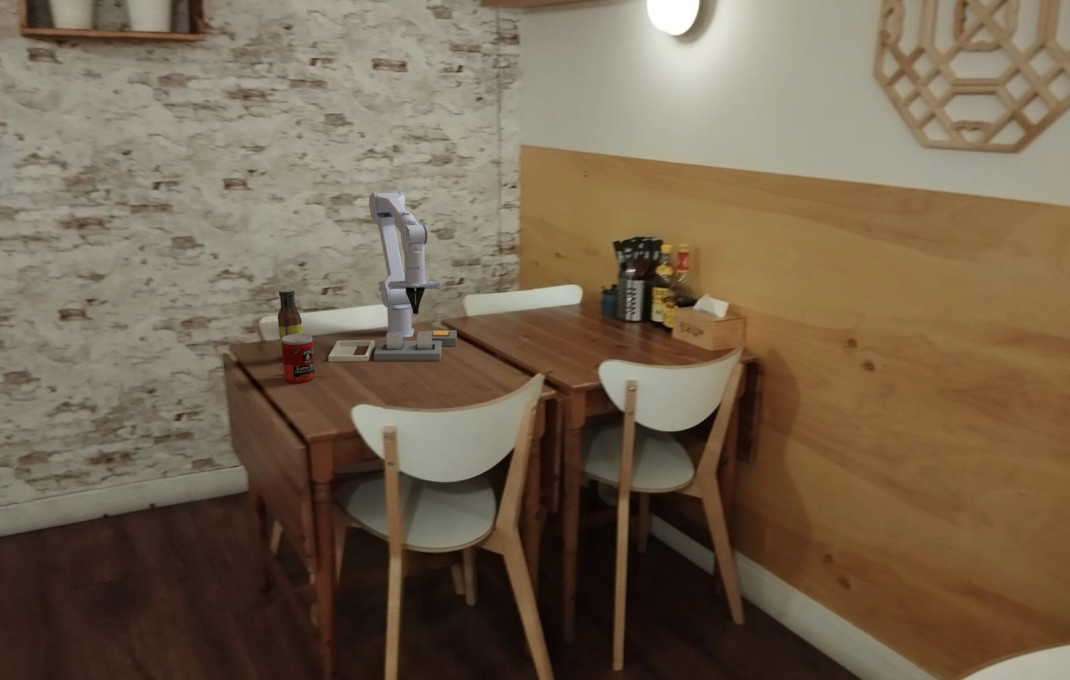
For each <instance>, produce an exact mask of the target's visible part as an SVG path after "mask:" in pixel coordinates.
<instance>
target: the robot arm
mask: <svg viewBox="0 0 1070 680" xmlns="http://www.w3.org/2000/svg"><path fill="white" fill-rule="evenodd" d="M405 198H406V197H405V196H404V194H403V192H401V191H397V192H395V191H394V192H371V194H370V195H369V199H368V208H369V213H370V218H371V220H372V223H374V224H376V225H377V227H378V231H379V235H380V240H381V247H382V253H383V257H384V263H385V268H386V272H387V273H386V274H387V277H386V278H385V279H383V280H382V282H381V283H380V298H381V303H382V305H383V306H384V308H385V307H386V308H387V309H386V310H387V332H386V334H385V337H386V338H387V333H388V332H403V338H405V337H406V338H409V337H411V338H412V337H413V335H414V333H415V328H412V327H413V325H412V314H413V315H419V312H420V311H419V310H420V304H421V301H422V298H423V295H424V294H425V292H426V291H425V290H441V288H442V286H441V284H442V282H441V281H439V280H438V281H436V280H426V271H425V270H426V263H425V262H426V259H425V254H426V253H425V250H426V249H425V245H426V244H427V243H428V230H427V227H426V225H425V224H424V223H419V222H418V221H417V220H416V218H415V216H414V215H413V214H412V212H410V211H408V210H407V211H406V208H405V207H406V199H405ZM396 228H397V230H398V232H399V233H400V241H401V246H402V251H403V253H404V254H403V255H404V258H403V259H404V268H403V262H402V258H401V253H400V247H399V242H398V237H397V233H396Z"/></svg>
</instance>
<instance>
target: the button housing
mask: <svg viewBox="0 0 1070 680" xmlns="http://www.w3.org/2000/svg"><path fill="white" fill-rule="evenodd" d="M426 331H432V341H442V347H456V346H457V340H458V339H457V337H458V336H457V333H458V332H457V329H452V330H451V329H447V330H446V329H445V330H444V329H441V330H438V329H435V330H434V329H432V330H429V329H428V330H426ZM434 331H449V337H433V333H434Z"/></svg>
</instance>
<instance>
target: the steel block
mask: <svg viewBox="0 0 1070 680" xmlns="http://www.w3.org/2000/svg"><path fill="white" fill-rule="evenodd" d="M387 332H388V331H387ZM387 332H386V334H387V337H386V341H387V350H402V348H403V341H404V340H403V339H404V337H403V332H388V333H387Z"/></svg>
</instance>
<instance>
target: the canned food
mask: <svg viewBox="0 0 1070 680" xmlns="http://www.w3.org/2000/svg"><path fill="white" fill-rule="evenodd" d="M281 343H282V356H281V357H282V358H283V359H282V370H283V372H282V373H283V379H284V380H285V381H286V382H287V383H289V382H290V384H304V383H309V382H311V381H313V380H314V378H315V373H316V372H315V356H314V355H315V354H314V340H313V336H312V335H309V334H306V333H305V334H304V333H303V334H292V335H287V336H284V337H282V340H281Z"/></svg>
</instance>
